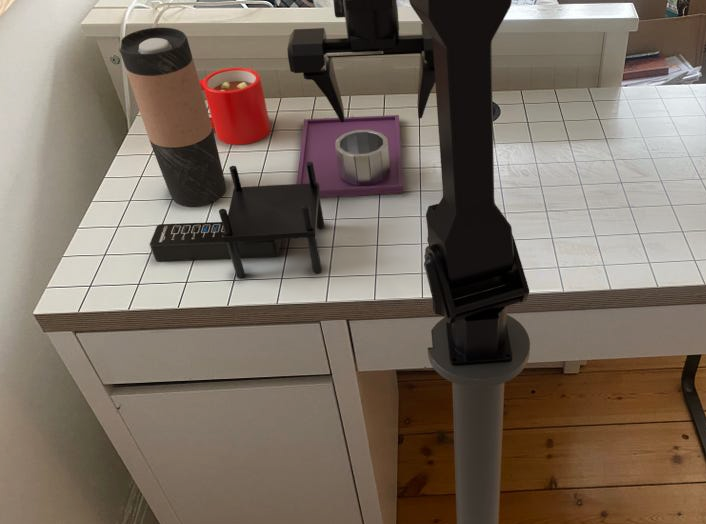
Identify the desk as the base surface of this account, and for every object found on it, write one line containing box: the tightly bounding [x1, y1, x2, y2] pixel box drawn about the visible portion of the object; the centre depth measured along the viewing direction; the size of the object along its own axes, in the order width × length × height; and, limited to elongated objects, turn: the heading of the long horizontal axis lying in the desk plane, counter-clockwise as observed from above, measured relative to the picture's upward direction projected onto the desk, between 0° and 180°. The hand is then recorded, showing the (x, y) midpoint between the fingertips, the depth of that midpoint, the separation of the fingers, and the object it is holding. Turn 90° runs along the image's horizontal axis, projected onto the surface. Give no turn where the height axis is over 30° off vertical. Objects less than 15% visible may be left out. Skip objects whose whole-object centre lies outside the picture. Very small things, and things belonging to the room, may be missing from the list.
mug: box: [199, 67, 272, 146], centre depth 108 cm, size 8×12×8 cm, turn 90°
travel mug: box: [118, 26, 227, 207], centre depth 92 cm, size 8×8×20 cm
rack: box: [218, 162, 325, 279], centre depth 87 cm, size 10×10×9 cm
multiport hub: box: [149, 221, 282, 262], centre depth 90 cm, size 4×14×2 cm, turn 94°
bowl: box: [335, 130, 390, 186], centre depth 100 cm, size 7×7×5 cm
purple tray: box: [295, 114, 404, 199], centre depth 105 cm, size 20×14×1 cm
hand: (381, 118), depth 90 cm, fingers open, 9 cm apart
